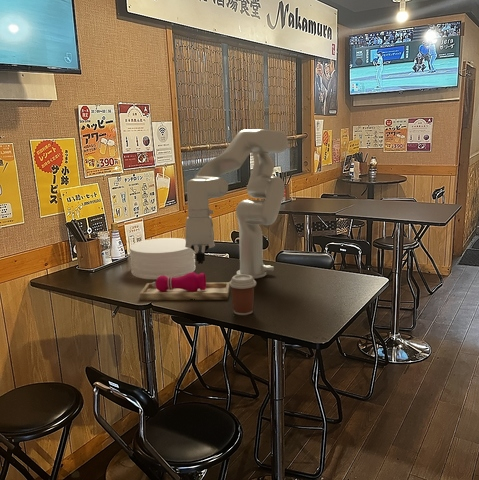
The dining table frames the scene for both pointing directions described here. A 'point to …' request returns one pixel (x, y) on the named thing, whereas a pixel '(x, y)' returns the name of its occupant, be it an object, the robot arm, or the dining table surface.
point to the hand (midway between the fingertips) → (200, 262)
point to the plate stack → (161, 258)
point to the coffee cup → (242, 293)
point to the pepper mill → (181, 282)
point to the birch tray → (186, 293)
